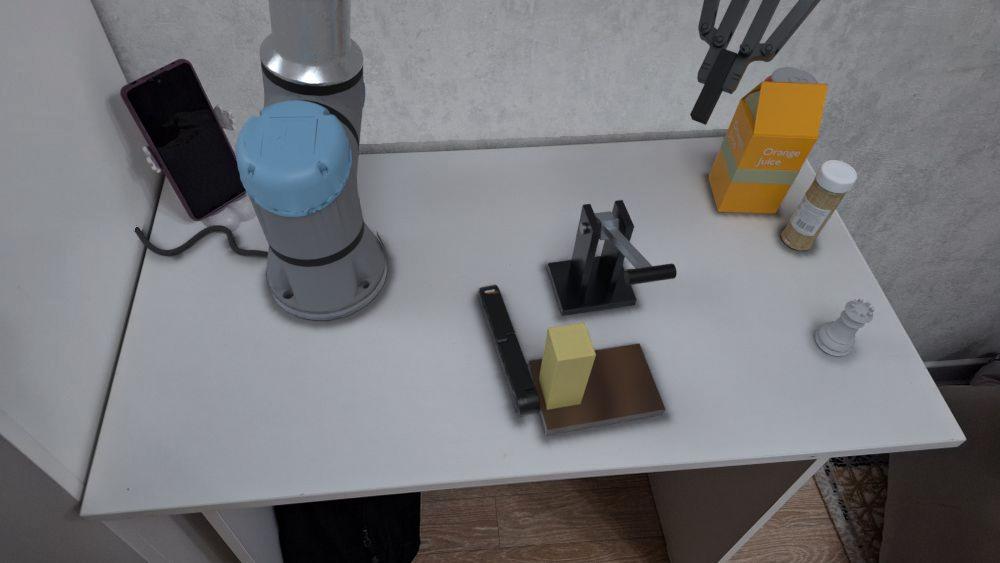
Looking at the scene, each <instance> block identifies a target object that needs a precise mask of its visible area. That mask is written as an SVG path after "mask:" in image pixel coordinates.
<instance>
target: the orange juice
mask: <svg viewBox="0 0 1000 563" xmlns="http://www.w3.org/2000/svg"><path fill="white" fill-rule="evenodd" d="M828 87H829V83H818V84H817V83H793V82H769V81H764V80H761V81H760V83H758V84H757V85H756V86H755V87H753V88H752V89H751V90H750V91H749V92H748V93H746V94H745V95H744V96H743V97H741V98H740V99H739V102H738V105H737V107H736V109H735V111H734V113H733V116H732V119H731V121H730V123H729V126H728V128H727V131H726V133H725V134H724V137H723V140H722V142H721V144H720V148H719V150H718V153H717V155H716V157H715V160H714V162H713V165H712V166H711V169H710V171H709V174H708V177H707V178H708V182H709V185H710V188H711V192H712V196H713V199H714V204H715V206H716V210H717V212H718V213H741V214H742V213H743V214H744V213H746V214H767V215H768V214H772V215H775V214H776V213H777V212H778V209H779V208H780V206H781V205H782V203H783V201H784V199H785V197H786V196H787V194H788V193H789V190H790V189H791V187H792V185H793V184H794V182H795V180H796V179H797V177H798V175H799V173H800V172H801V169H802V167H803V165H804V164H805V163H806V160H807V159H808V157H809V155H810V154H811V151H812V150H813V148H814V146H815V145H816V143H817V141H818V139H819V134H820V129H821V123H822V118H823V114H824V108H825V102H826V98H827V93H828Z"/></svg>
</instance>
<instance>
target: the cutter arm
mask: <svg viewBox="0 0 1000 563" xmlns="http://www.w3.org/2000/svg"><path fill="white" fill-rule="evenodd" d="M594 214H595V216H596V219H597V221H598V224H599V226H600V229H601V234H600V238H599V241H605V240H609V239H610V240H611V242H612V243H613V244H614V245H615V246H616V247H617V248H618V249H619V251H620V252H621V253H622V254H623V255H624V256H625V259H626V260H627V261H628V262H629V263H630V264H631V266H633V268H629V269H624V270H625V272H624V279H625V282H626V284H627V285H631V286H633V285H640V284H647V283H654V282H660V281H667V280H674V279H676V277H677V274H678V271H677V267H676V265H675V264H674V263H664V264H657V265H652V264H651V262H649V260H647V259H646V258H645V257H644V255H643V254H642V253H641V252H640V251H639V250H638V249H637V247H635V246H634V244H632V243H631V241H630V242H629V241H628V240H627V239H626V238H625V237H624V235H623V234H622V233H621V232H620V231H619V219H618V218H617V217H616V216H615V215H614V214H613V213H612V210H611V211H602V212H601V211H600V212H594Z"/></svg>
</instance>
